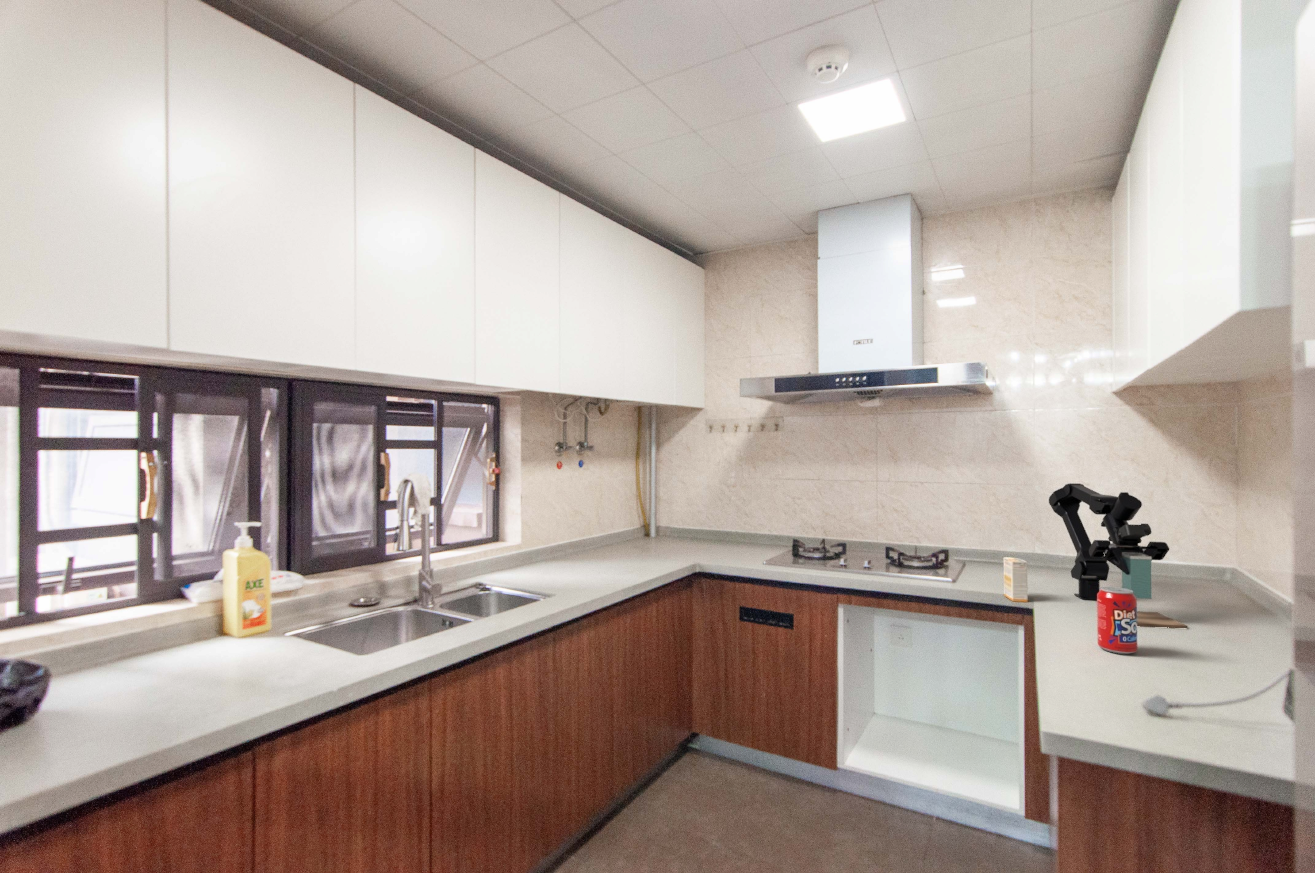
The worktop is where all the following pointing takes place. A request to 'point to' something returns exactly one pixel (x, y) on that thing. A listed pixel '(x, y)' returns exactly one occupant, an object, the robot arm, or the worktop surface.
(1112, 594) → the soda can
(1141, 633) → the worktop surface
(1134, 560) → the tea tin
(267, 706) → the worktop surface
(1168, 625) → the walnut board
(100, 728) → the worktop surface
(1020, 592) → the supplement box
